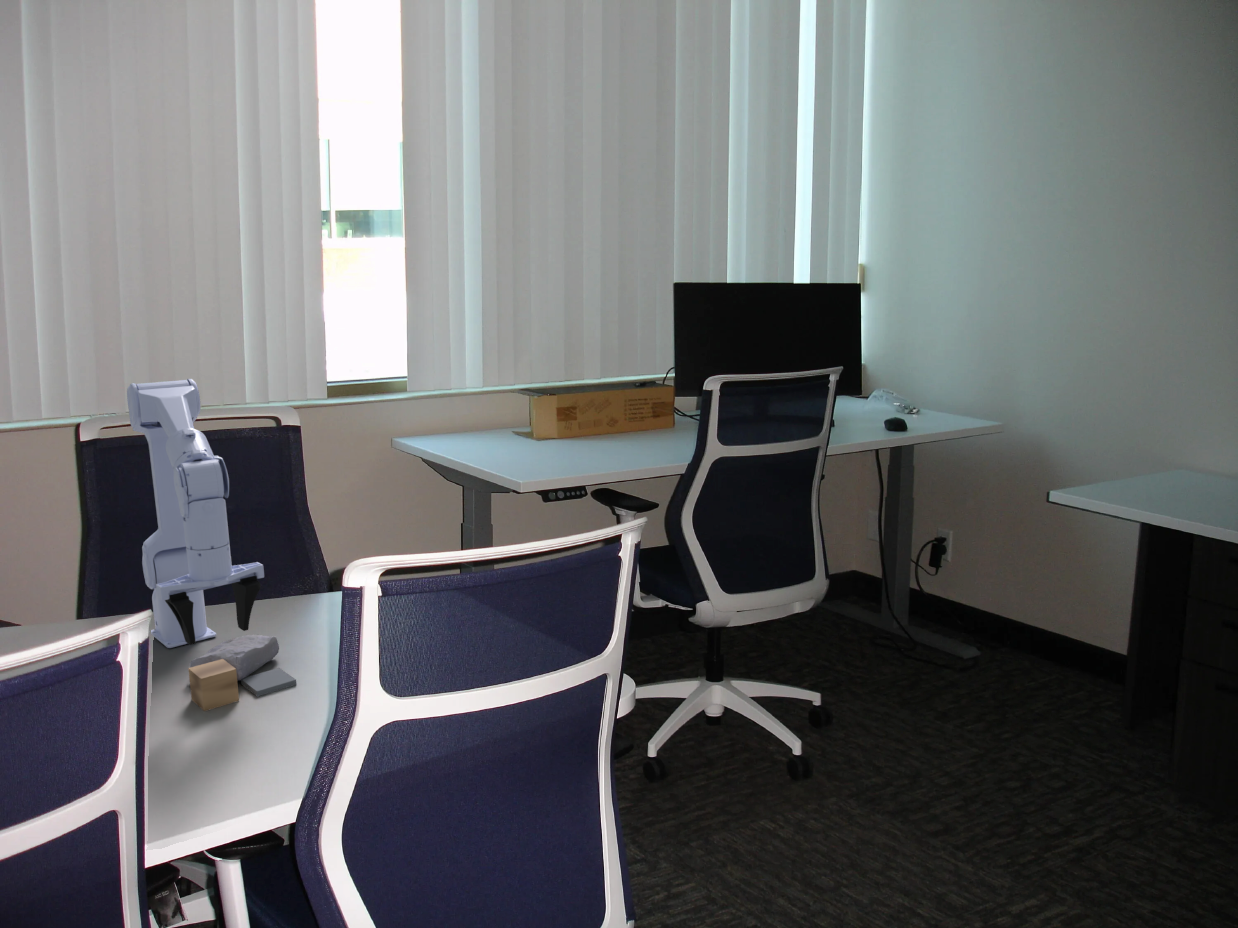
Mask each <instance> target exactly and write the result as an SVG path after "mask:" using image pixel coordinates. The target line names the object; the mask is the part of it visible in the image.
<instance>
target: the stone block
mask: <svg viewBox="0 0 1238 928" xmlns="http://www.w3.org/2000/svg"><path fill="white" fill-rule="evenodd" d="M278 641H279V640H278V638H277V636H275V635H273V636H268V635H261V634H245V635H242V636H238V637H234V638H232V639H227V640H225V641H222V642H220V643H219V644H218V645H215V646H214V647H212V648H210V649H209V650H208V651H207V652H206V653H205V654H203V655H202V656H199V657H196V658H194V659H192V660H191V661H189V668H191V667H195V666H198V665H202V664H206V663H209V662H213V661H217V660H220V659H224V660H225V661H226V662H228V663H229V664H230V665H232V666H233V667H234V668H236V673H237V682H238V681H241V680H242V679H243V678H245V677H249V676H251V675H252V673H254V672H256V671H257V670H258V669H260V668H262V667H263V666H264V665H265V664H266V663H268V662H270V661H272V660H273V659H274V658H276V657H277V655H278V653H279V651H280V646H279V642H278Z"/></svg>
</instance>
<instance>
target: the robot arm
mask: <svg viewBox="0 0 1238 928" xmlns="http://www.w3.org/2000/svg"><path fill="white" fill-rule="evenodd" d="M126 400H127V407H128V414H129V423H130V426H131V428H132V431H133V432H136V433H137V432H138V433H142V434H144V437H145V439H146V440H147V444H148V450H149V451H148V452H149V458H150V460H149V461H150V467H151V476H152V477H151V478H152V485H153V486H152V487H153V493H154V494H153V495H154V501H155V510H156V511H155V512H156V518H157V526H158V527H157V530H156V531H155V532H153V533H152V534H151V535H150V536H149V537H148V538H147V539H145V541H143V543H142V544H143V545H142V547H141V550H142V559H141V560H142V561H141V564H142V571H143V576H144V581H145V585H146V586H147V587H148V589H150V590H153V592H152V596H151V601H152V610H153V612H152V613H153V618H154V626H155V627H154V628H155V629H151V634H150V635H151V636H153V637H154V638H155V639H156V640H157V641H159V642H160V643H161V644H162V645H164V647H166V648H167V649H172V648H175V647H180V646H183V645H186V644H187V645H190V646H191V645H196V642H200V641H203V640H207V639H211V638H214V637H216V636H217V632H215V631H214V630H212V629H211V628H209V627H208V625H207V616H206V606H205V596H204V590H209V589H213V588H216V587H221V586H226V585H230V584H231V587H232V590H233V596H234V600H235V601H234V602H235V608H236V609H235V612H236V621H237V627H238V628H239V629H240V630H242V632H246V631H249V627H250V626H249V625H250V619H251V615H252V610H253V606H254V604H255V601H256V599H257V596H258V594H259V593H260V590H261V582H260V581H259V580H258V579H263V578H265V570H264V564H262V563H260V562H258V561H256V562H250V563H244V564H237V565H236V564H234V565H232V556H231V555H232V554H231V546H230V535H229V533H230V532H229V526H228V525H229V524H228V513H227V503H226V499H228V498H229V496H230V478H229V474H228V469H227V466H226V463H225V460H224V458H223V457H221V456H219V455H214V452H213V450H212V447H211V446H210V443H209V441H208V439H207V437H206V435H205V434H204V432H202V431H200V430H199V429H195V426H194V422H195V421H196V420H197V418H198V416H199V415H200V414H201V396H200V391H199V388H198V385H197V382H196V381H195V380H194V379H193V378H187V379H179V380H170V381H169V380H168V381H157V382H155V381H154V382H145V383H144V382H143V383H135V382H133V383H130V384H129V386H127V388H126ZM224 498H225V499H224Z"/></svg>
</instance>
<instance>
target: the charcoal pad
mask: <svg viewBox="0 0 1238 928" xmlns="http://www.w3.org/2000/svg"><path fill="white" fill-rule="evenodd" d="M240 684H241V685H242V686H243V687H244V688H246V689H247V690H249V691H250V693H252V694H253V695H255V696H256V697H260V696H263V695H267V694H271V693H273V692H276V691H280V690H283V689H286V688H290V687H293V686H296V685H297V679H296V678H295V677H293V676H292V675H291V674H289V673H288V672H286V671H285V670H283V669H282V668H280V667H277V668H273V669H270V670H267V671H263V672H260V673H256V674H253V675H252V674H251V675H248V676H247V677H245V678H243V679H242V680H240Z"/></svg>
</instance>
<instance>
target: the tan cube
mask: <svg viewBox="0 0 1238 928" xmlns="http://www.w3.org/2000/svg"><path fill="white" fill-rule="evenodd" d="M188 678H189V688H190V695H191V697H190V698H191V701H192V702H193V703H195V704H196V706H198V707H199V708H200V709H201V710H202V711H204V712H206V711H209V710H214V709H216V708H220V707H224V706H227V705H230V704H234V703H236V702H239V701H240V696H239V694H240V693H239V687H238V681H237V673H236V668H234V667H233V666H232V665H230V664H229V663H228V662H226V661H225V660H224V659H220V660H217V661H213V662H209V663H206V664H202V665H198V666H195V667H191V668H190V667H188Z"/></svg>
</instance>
